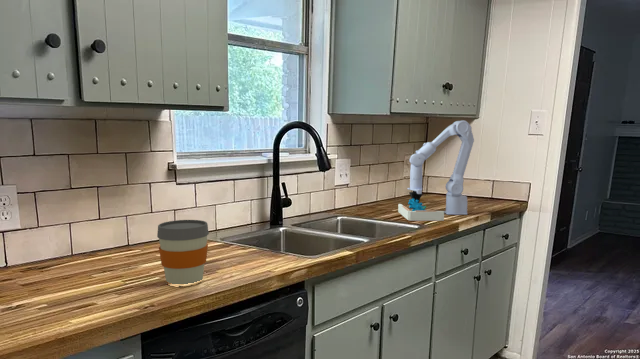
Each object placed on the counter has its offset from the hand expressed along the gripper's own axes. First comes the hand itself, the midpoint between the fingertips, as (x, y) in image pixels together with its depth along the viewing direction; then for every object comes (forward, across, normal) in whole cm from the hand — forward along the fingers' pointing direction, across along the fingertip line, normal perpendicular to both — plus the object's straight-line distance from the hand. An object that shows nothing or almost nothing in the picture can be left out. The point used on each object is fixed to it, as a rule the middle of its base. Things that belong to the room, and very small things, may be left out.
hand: (415, 207), depth 219 cm
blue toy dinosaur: (+3, +6, 0) cm, 6 cm away
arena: (+3, +8, 0) cm, 8 cm away
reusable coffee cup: (+3, +100, -84) cm, 130 cm away
